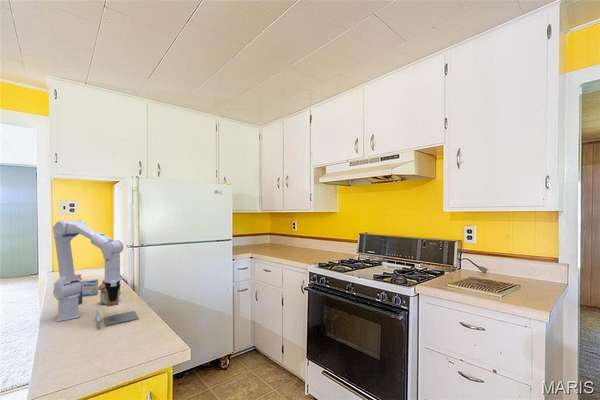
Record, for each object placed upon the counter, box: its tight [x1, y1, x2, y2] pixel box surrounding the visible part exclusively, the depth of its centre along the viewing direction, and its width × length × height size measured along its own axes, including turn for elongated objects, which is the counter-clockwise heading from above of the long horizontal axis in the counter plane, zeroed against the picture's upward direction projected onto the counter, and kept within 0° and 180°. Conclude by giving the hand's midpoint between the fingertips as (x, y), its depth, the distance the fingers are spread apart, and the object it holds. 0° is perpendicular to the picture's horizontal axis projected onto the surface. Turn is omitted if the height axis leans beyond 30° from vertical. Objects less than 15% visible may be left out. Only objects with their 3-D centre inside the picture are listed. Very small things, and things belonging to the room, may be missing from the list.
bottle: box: [75, 273, 83, 306], centre depth 151 cm, size 6×6×15 cm
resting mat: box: [103, 310, 139, 327], centre depth 129 cm, size 12×12×1 cm
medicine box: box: [81, 278, 99, 298], centre depth 168 cm, size 8×4×9 cm, turn 118°
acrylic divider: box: [95, 309, 101, 331], centre depth 124 cm, size 16×1×4 cm, turn 36°
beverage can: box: [98, 279, 120, 306], centre depth 152 cm, size 9×8×12 cm
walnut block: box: [106, 291, 119, 308], centre depth 127 cm, size 4×4×6 cm
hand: (112, 300), depth 127 cm, fingers closed on walnut block, 4 cm apart
